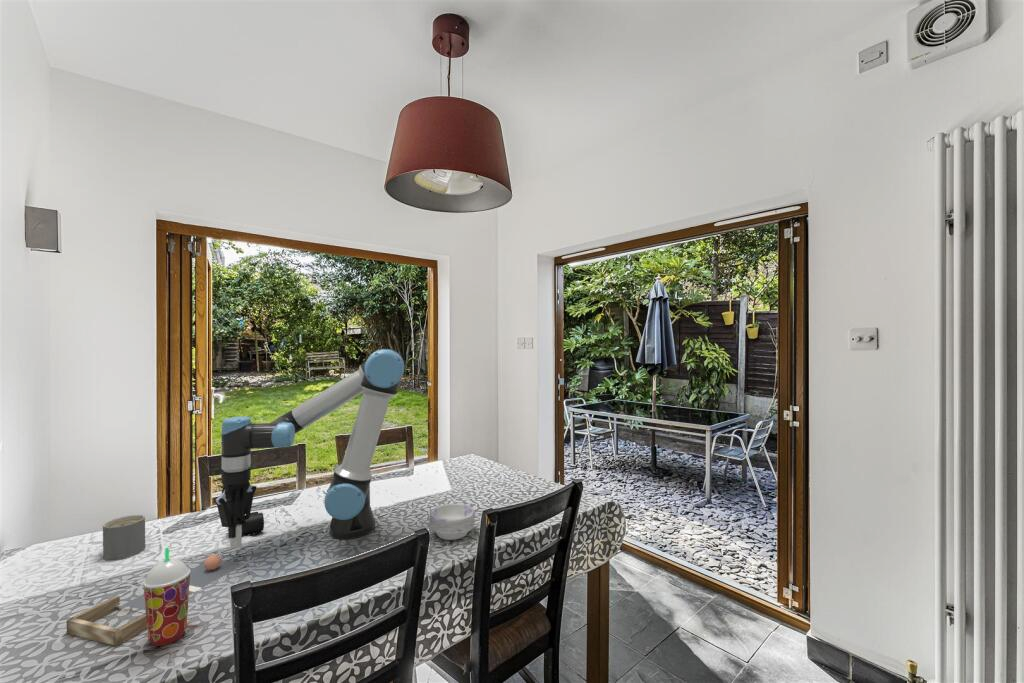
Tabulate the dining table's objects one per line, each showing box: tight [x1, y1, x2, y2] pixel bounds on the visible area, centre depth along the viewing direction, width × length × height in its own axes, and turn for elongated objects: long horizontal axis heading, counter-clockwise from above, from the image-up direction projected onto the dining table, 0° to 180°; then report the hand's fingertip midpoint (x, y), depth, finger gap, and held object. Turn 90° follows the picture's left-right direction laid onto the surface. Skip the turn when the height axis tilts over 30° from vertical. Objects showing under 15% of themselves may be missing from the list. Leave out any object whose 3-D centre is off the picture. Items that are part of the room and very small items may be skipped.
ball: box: [203, 554, 222, 570], centre depth 126 cm, size 4×4×4 cm
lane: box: [122, 559, 245, 615], centre depth 119 cm, size 12×24×1 cm, turn 164°
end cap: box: [227, 511, 265, 539], centre depth 150 cm, size 10×7×7 cm
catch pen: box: [66, 595, 148, 647], centre depth 103 cm, size 16×10×3 cm, turn 74°
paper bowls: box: [429, 503, 476, 541], centre depth 149 cm, size 15×15×8 cm
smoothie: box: [142, 547, 191, 647], centre depth 98 cm, size 8×8×20 cm
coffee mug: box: [102, 514, 146, 561], centre depth 140 cm, size 13×10×10 cm
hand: (235, 546), depth 133 cm, fingers closed
